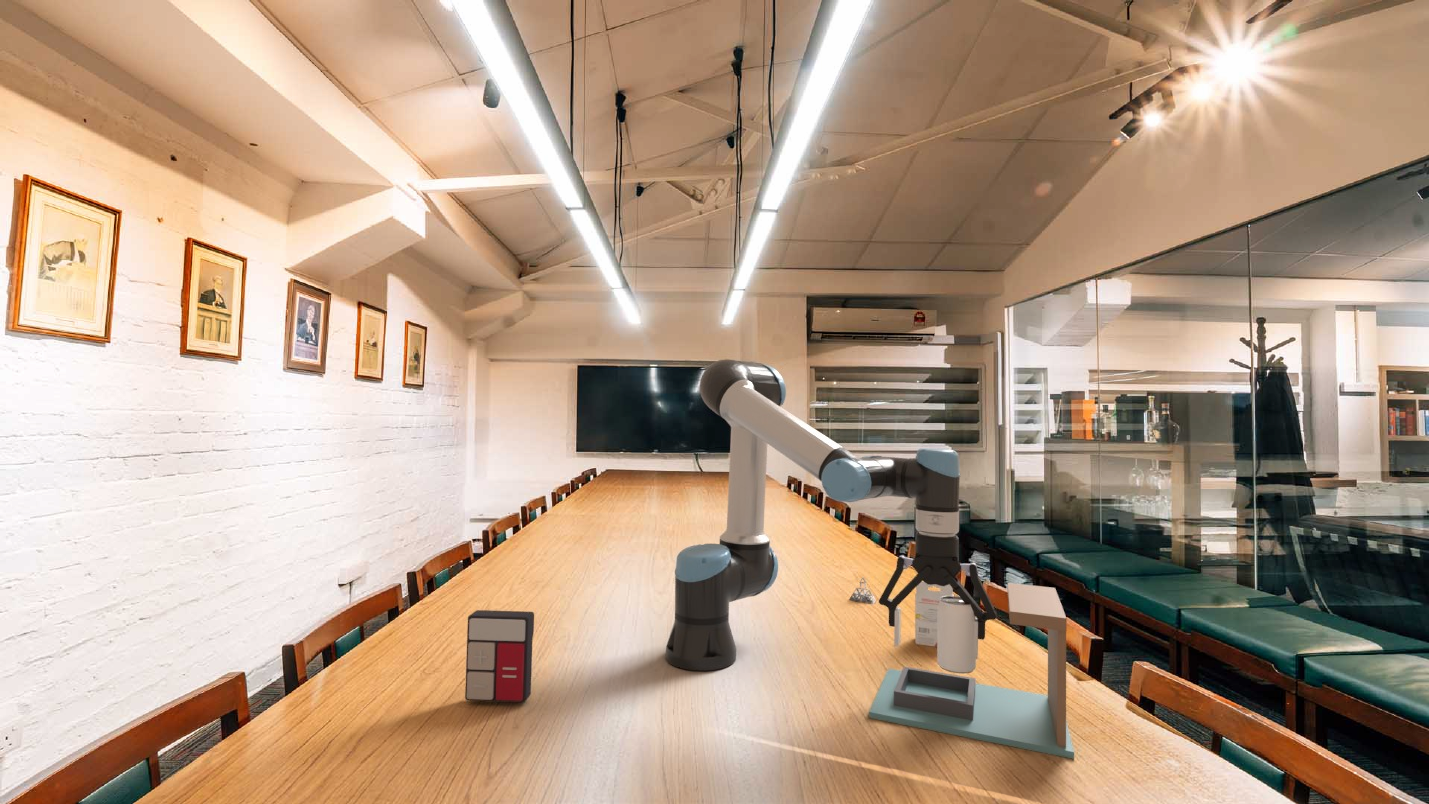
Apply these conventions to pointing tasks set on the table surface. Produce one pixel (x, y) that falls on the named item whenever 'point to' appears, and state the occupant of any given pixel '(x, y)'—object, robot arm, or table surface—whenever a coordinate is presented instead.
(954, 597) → the can
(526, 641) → the calculator
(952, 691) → the socket stand
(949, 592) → the ink cartridge box
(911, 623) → the table surface
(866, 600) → the house of cards
